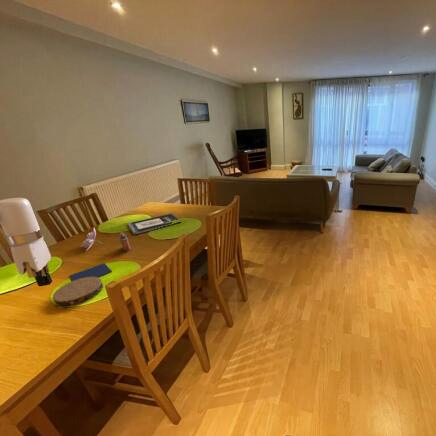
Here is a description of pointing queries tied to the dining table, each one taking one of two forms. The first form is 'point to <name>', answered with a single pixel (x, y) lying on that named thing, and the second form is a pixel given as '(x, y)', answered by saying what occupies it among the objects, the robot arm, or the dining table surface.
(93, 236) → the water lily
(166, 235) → the dining table surface
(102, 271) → the cloth
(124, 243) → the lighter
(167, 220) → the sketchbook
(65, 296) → the brown round disc
